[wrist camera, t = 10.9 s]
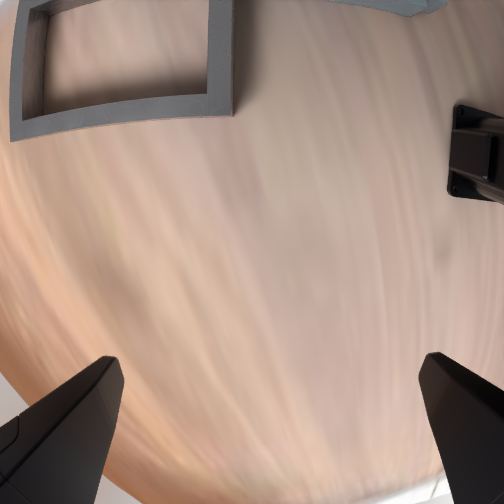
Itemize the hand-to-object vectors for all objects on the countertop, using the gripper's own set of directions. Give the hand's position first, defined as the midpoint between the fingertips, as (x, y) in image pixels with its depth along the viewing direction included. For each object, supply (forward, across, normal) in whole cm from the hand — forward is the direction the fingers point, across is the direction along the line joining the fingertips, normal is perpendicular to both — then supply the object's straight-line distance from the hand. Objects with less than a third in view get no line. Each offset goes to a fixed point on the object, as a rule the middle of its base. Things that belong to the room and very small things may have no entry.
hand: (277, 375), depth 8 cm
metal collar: (+13, +9, -12) cm, 20 cm away
